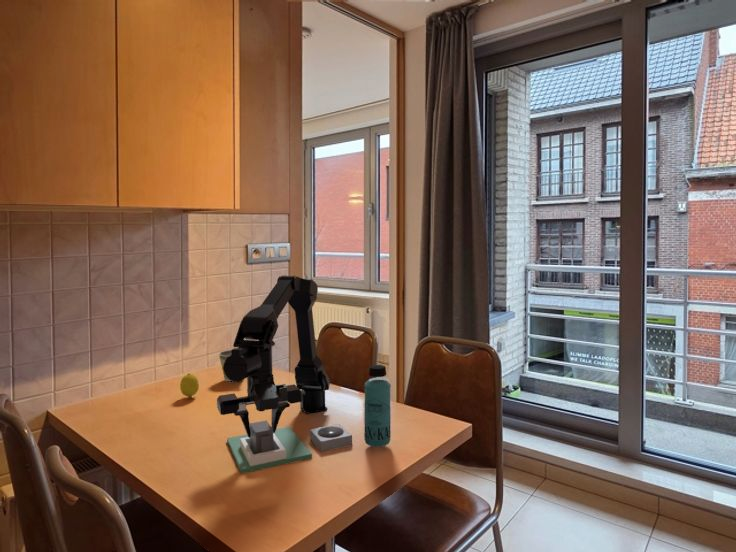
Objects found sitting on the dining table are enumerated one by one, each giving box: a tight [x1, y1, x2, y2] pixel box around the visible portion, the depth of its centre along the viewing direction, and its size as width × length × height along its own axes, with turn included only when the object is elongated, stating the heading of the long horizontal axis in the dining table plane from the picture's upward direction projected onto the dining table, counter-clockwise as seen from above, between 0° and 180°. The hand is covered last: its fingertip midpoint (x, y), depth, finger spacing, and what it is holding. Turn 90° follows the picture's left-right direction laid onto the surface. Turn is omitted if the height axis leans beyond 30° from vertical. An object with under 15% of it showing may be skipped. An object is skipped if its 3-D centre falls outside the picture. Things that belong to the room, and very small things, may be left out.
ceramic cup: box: [218, 349, 234, 383], centre depth 169 cm, size 13×10×10 cm
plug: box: [249, 420, 274, 454], centre depth 109 cm, size 4×7×6 cm, turn 26°
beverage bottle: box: [363, 364, 392, 448], centre depth 113 cm, size 6×7×20 cm
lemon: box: [179, 372, 200, 399], centre depth 151 cm, size 6×6×8 cm
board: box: [226, 426, 313, 474], centre depth 113 cm, size 16×18×3 cm
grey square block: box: [309, 423, 353, 453], centre depth 117 cm, size 8×8×3 cm
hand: (261, 434), depth 109 cm, fingers open, 5 cm apart
